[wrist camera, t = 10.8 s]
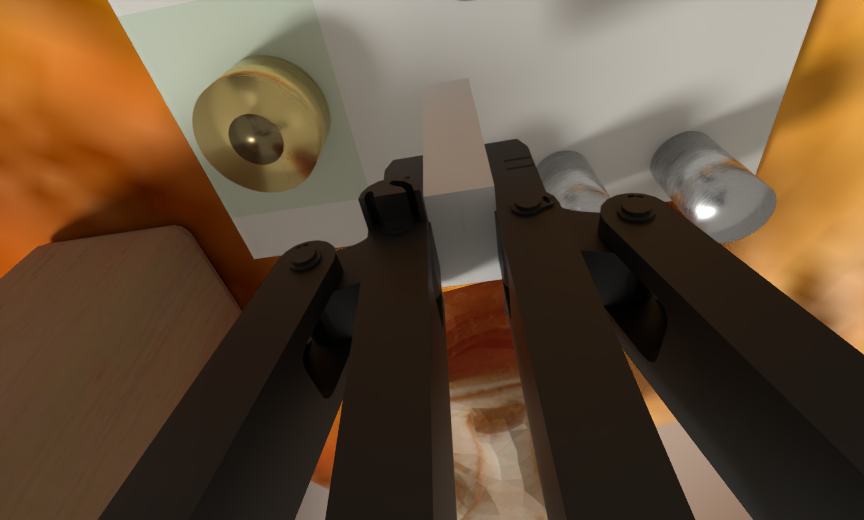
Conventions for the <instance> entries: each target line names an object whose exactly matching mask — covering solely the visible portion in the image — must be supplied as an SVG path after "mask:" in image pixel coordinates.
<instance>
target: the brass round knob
mask: <svg viewBox="0 0 864 520" xmlns="http://www.w3.org/2000/svg"><path fill="white" fill-rule="evenodd" d="M330 124H331V117H330V110H329V106H328V103H327V100H326V98H325V96H324V94H323V92H322V90H321V89H320V87H319V86H318V84H317V83H316V82H315V81H314V79H313V78H312V77H311V76H310V75H309V74H308V73H307V72H305V71H304V70H303V69H301V68H300V67H299V66H297V65H295V64H293V63H292V62H289V61H287V60H285V59H282V58H278V57H274V56H268V55H259V56H252V57H248V58H245V59H243V60H241V61H239V62H238V63H236V64H235V65H233V66H232V67H231V68H230V69H229V70H227V71H226V72H225V73H224V74H223V75H222V76H220V77H219V78H218V79H217V80H216V81H214V82H213V83H212V84H211V85H210V86H208V87H207V88H206V89H205V90H204V91H203V92H202V93H201V95H200V96H199V97H198V99H197V101H196V103H195V106H194V110H193V115H192V126H193V132H194V136H195V139H196V142H197V144H198V146H199V148H200V150H201V152H202V153H203V155H204V157H205V158H206V159H207V160H208V162H209V163H210V164H211V165H212V166H213V167H214V168H215V169H216V170H217V171H218V172H219V173H220V174H222V175H223V176H224V177H226V178H227V179H229V180H230V181H232V182H234V183H235V184H238V185H240V186H242V187H244V188H247V189H250V190H254V191H258V192H266V193H275V192H283V191H287V190H290V189H293V188H295V187H297V186H298V185H300V184H301V183H303V182H304V181H305V180H306V179H307V178H308V177H309V176H310V174H311V173H312V171H313V169H314V167H315V165H316V163H317V160H318V158H319V156H320V153H321V151H322V149H323V146H324V144H325V142H326V139H327V137H328V134H329V131H330Z"/></svg>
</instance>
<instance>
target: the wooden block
mask: <svg viewBox="0 0 864 520" xmlns="http://www.w3.org/2000/svg"><path fill="white" fill-rule="evenodd" d="M241 313H242V310H241V309H240V307H239V306H238V304H237V303H236V301H235V299H234V298H233V296H232V295H231V293H230V292H229V290H228V289H227V287H226V286H225V284H224V283H223V281H222V280H221V278H220V276H219V275H218V273H217V272H216V270H215V269H214V267H213V266H212V264H211V263H210V261H209V260H208V258H207V257H206V255H205V253H204V252H203V250H202V249H201V247H200V246H199V244H198V243H197V241H196V240H195V238H194V237H193V235H192V234H191V232H189V231H188V230H187V229H185V228H184V227H182V226H177V225H170V226H163V227H156V228H149V229H142V230H136V231H129V232H122V233H115V234H109V235H102V236H95V237H88V238H82V239H75V240H68V241H61V242H55V243H49V244H45V245H42V246H39V247H37V248H35V249H34V250H33V251H32V252H30V253H29V254H28V255H27V256H26V257H25V258H24V259H22V260H21V261H20V262H19V263H18V264H17V265H16V266H14V267H13V268H12V269H11V270H10V271H9V272H8V273H7V274H5V275H4V276H3V277H2V278H1V279H0V520H98V518H99V517H100V515H101V514H102V513H103V511H104V510H105V508H106V507H107V505H108V504H109V502H110V501H111V500H112V498H113V497H114V495H115V494H116V492H117V491H118V489H119V488H120V487H121V485H122V484H123V482H124V481H125V479H126V478H127V477H128V475H129V474H130V472H131V471H132V469H133V468H134V466H135V465H136V464H137V462H138V461H139V459H140V458H141V456H142V455H143V454H144V452H145V451H146V449H147V448H148V446H149V445H150V443H151V442H152V441H153V439H154V438H155V436H156V435H157V433H158V432H159V430H160V429H161V428H162V426H163V425H164V423H165V422H166V420H167V419H168V418H169V416H170V415H171V413H172V412H173V410H174V409H175V407H176V406H177V405H178V403H179V402H180V400H181V399H182V397H183V396H184V395H185V393H186V392H187V390H188V389H189V387H190V386H191V384H192V383H193V382H194V380H195V379H196V377H197V376H198V374H199V373H200V372H201V370H202V369H203V367H204V366H205V364H206V363H207V361H208V360H209V359H210V357H211V356H212V354H213V353H214V351H215V350H216V348H217V347H218V346H219V344H220V343H221V341H222V340H223V338H224V337H225V336H226V334H227V333H228V331H229V330H230V328H231V327H232V325H233V324H234V323H235V321H236V320H237V318H238V317H239V315H240V314H241Z"/></svg>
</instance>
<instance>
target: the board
mask: <svg viewBox="0 0 864 520" xmlns="http://www.w3.org/2000/svg"><path fill="white" fill-rule="evenodd" d="M108 1H109V3H110V5H111V7H112V8H113V10H114V12H115V14H116V16H117V17H118V19H119V21H120V23H121V24H122V26H123V28H124V30H125V31H126V33H127V35H128V37H129V39H130V40H131V42H132V44H133V46H134V47H135V49H136V51H137V53H138V54H139V56H140V58H141V60H142V62H143V63H144V65H145V67H146V69H147V70H148V72H149V74H150V76H151V77H152V79H153V81H154V83H155V85H156V86H157V88H158V90H159V92H160V93H161V95H162V97H163V99H164V100H165V102H166V104H167V106H168V108H169V109H170V111H171V113H172V115H173V116H174V118H175V120H176V122H177V123H178V125H179V127H180V129H181V131H182V132H183V134H184V136H185V138H186V139H187V141H188V143H189V145H190V146H191V148H192V150H193V152H194V154H195V155H196V157H197V159H198V161H199V162H200V164H201V166H202V168H203V169H204V171H205V173H206V175H207V177H208V178H209V180H210V182H211V184H212V185H213V187H214V189H215V191H216V192H217V194H218V196H219V198H220V200H221V201H222V203H223V205H224V207H225V208H226V210H227V212H228V214H229V215H230V217H231V219H232V221H233V223H234V224H235V226H236V228H237V230H238V231H239V233H240V235H241V237H242V238H243V240H244V242H245V244H246V246H247V247H248V249H249V251H250V253H251V254H252V256H253V258H254V259H259V258H266V257H273V256H280V255H283V254H284V253H285V252H286V251H288V250H289V249H291V248H292V247H294V246H296V245H298V244H301V243H304V242H307V241H315V240H320V241H326V242H328V243H330V244H331V245H333V246H334V248H338V247H345V246H352V245H355V244H357V243H359V242H361V241H363V240H364V239H366V238H367V235H368V228H367V225H366V222H365V219H364V216H363V213H362V210H361V207H360V204H359V201H358V198H359V196H360V194H361V192H363V191H364V190H365V189H366V188H367V187H368V186H370V185H372V184H374V183H376V182H378V181H381V180H384V173H385V169H386V168H387V167H388V166H389V164H390V163H391V162H392V161H393V160H396V159H402V158H408V157H415V156H421V155H423V86H426V85H432V84H437V83H443V82H449V81H454V80H460V79H466V78H468V79H469V83H470V87H471V91H472V96H473V100H474V104H475V108H476V112H477V116H478V120H479V125H480V129H481V133H482V137H483V141H484V144H487V143H493V142H499V141H506V140H512V139H518V140H519V141H521V142H522V143H524V144H525V145H527V146H528V148H529V150H530V153H531V155H532V158H533V160H534V163H535V166H537V165H538V164H539V163H540V162H541V161H542V160H543V159H544V158H545V157H547V156H548V155H550V154H552V153H555V152H558V151H564V150H570V151H575V152H578V153H580V154H581V155H583V156H584V157H585V158H586V159H587V161H588V162H589V164H590V165H591V167H592V169H593V170H594V172H595V173H596V175H597V177H598V178H599V180H600V182H601V183H602V185H603V186H604V188H605V190H606V191H607V193H608V194H609V196H610V198H611V197H613V196H615V195H620V194H626V193H642V194H646V195H650V196H654V197H657V198H659V199H660V200H662V201H664V202H668V201H672V200H671V199H670V198H669V196H668V195H667V194H666V193H665V192H664V190H663V189H662V188H661V187H660V185H659V184H658V183H657V182H656V181H655V179H654V178H653V177H652V174H651V171H650V164H651V160H652V158H653V156H654V154H655V152H656V151H657V149H658V148H659V147H660V146H661V145H662V144H663V143H664V142H665V141H667V140H668V139H669V138H671V137H673V136H675V135H677V134H679V133H682V132H687V131H699V132H702V133H704V134H706V135H707V136H709V137H710V138H711V139H712V140H714V141H715V142H716V143H717V144H718V145H720V146H721V147H722V148H723V149H724V150H726V151H727V152H728V153H729V154H730V155H732V156H733V157H734V158H735V159H736V160H738V161H739V162H740V163H741V164H742V165H744V166H745V167H746V168H747V169H748V170H750V171H751V172H752V173H753V174H754V175H755V174H756V172H757V169H758V166H759V163H760V160H761V158H762V155H763V152H764V149H765V146H766V144H767V141H768V138H769V135H770V132H771V130H772V127H773V124H774V121H775V118H776V116H777V113H778V110H779V107H780V104H781V102H782V99H783V96H784V93H785V90H786V88H787V85H788V82H789V79H790V76H791V74H792V71H793V68H794V65H795V62H796V60H797V57H798V54H799V51H800V48H801V46H802V43H803V40H804V37H805V34H806V32H807V29H808V26H809V23H810V20H811V18H812V15H813V12H814V9H815V6H816V4H817V1H818V0H472V1H458V0H108ZM259 55H268V56H274V57H278V58H282V59H285V60H287V61H289V62H292V63H293V64H295V65H297V66H299V67H300V68H301V69H303V70H304V71H305V72H307V73H308V74H309V75H310V76H311V77H312V78H313V79H314V81H315V82H316V83H317V84H318V86H319V87H320V89H321V90H322V92H323V94H324V96H325V98H326V100H327V103H328V106H329V110H330V117H331V124H330V131H329V134H328V137H327V139H326V142H325V144H324V146H323V149H322V151H321V153H320V156H319V158H318V160H317V163H316V165H315V167H314V169H313V171H312V173H311V174H310V176H309V177H308V178H307V179H306V180H305V181H304V182H303V183H301V184H300V185H298V186H297V187H295V188H293V189H290V190H287V191H283V192H275V193H266V192H258V191H254V190H250V189H247V188H244V187H242V186H240V185H238V184H235V183H234V182H232V181H230V180H229V179H227V178H226V177H224V176H223V175H222V174H220V173H219V172H218V171H217V170H216V169H215V168H214V167H213V166H212V165H211V164H210V163H209V162H208V160H207V159H206V158H205V157H204V155H203V153H202V152H201V150H200V148H199V146H198V144H197V142H196V139H195V136H194V132H193V126H192V115H193V110H194V106H195V103H196V101H197V99H198V97H199V96H200V95H201V93H202V92H203V91H204V90H205V89H206V88H207V87H208V86H210V85H211V84H212V83H213V82H214V81H216V80H217V79H218V78H219V77H220V76H222V75H223V74H224V73H225V72H226V71H227V70H229V69H230V68H231V67H232V66H233V65H235V64H236V63H238V62H239V61H241V60H243V59H245V58H248V57H252V56H259Z"/></svg>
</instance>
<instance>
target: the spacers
mask: <svg viewBox="0 0 864 520" xmlns="http://www.w3.org/2000/svg"><path fill="white" fill-rule="evenodd" d="M458 1H472V0H458ZM536 168H537V170H538V173H539V175H540V178H541V180H542V182H543V185H544V187H545V190H546V192H548V193H550V194H552V195H554V196H555V197H556V199H557V200H558V201H559V202H560V205H561V207H563V208H566V209H569V210H574V211H582V212H599V213H600V209H601V205H602V204H603V203H604V202H605V201H606V200H607V199H609V198H610V196H609V194H608V193H607V191H606V190H605V188H604V186H603V185H602V183H601V182H600V180H599V178H598V177H597V175H596V173H595V172H594V170H593V169H592V167H591V165H590V164H589V162H588V161H587V159H586V158H585V157H584V156H583V155H581V154H580V153H578V152H575V151H570V150H564V151H558V152H555V153H552V154H550V155H548V156H547V157H545V158H544V159H543V160H542V161H541V162H540V163H539V164H538V165H537V166H536ZM650 171H651V174H652V177H653V178H654V179H655V181H656V182H657V183H658V184H659V185H660V187H661V188H662V189H663V190H664V192H665V193H666V194H667V195H668V196H669V198H670V199H671V200H672V201H673V203H674V204H675V205H676V206H677V207H678V209H679V210H680V211H681V212H682V213H683V215H684V216H685V217H686V218H687V219H688V220H689V221H691V222H692V223H693V224H695V225H696V226H697V227H699V228H700V229H701V230H702V231H704V232H705V233H706V234H708V235H709V236H710V237H712V238H713V239H714V240H715V241H717V242H718V243H728V242H733V241H736V240H739V239H742V238H744V237H746V236H748V235H750V234H752V233H753V232H755V231H756V230H758V229H759V228H760V227H761V226H763V225H764V224H765V223H766V222H767V220H768V219H769V218H770V216H771V215H772V213H773V211H774V209H775V206H776V195H775V193H774V191H773V190H772V189H771V188H770V187H769V186H768V185H766V184H765V183H764V182H763V181H762V180H760V179H759V178H758V177H757V176H756V175H754V174H753V173H752V172H751V171H750V170H748V169H747V168H746V167H745V166H744V165H742V164H741V163H740V162H739V161H738V160H736V159H735V158H734V157H733V156H732V155H730V154H729V153H728V152H727V151H726V150H724V149H723V148H722V147H721V146H720V145H718V144H717V143H716V142H715V141H714V140H712V139H711V138H710V137H709V136H707V135H706V134H704V133H702V132H699V131H687V132H682V133H679V134H677V135H675V136H673V137H671V138H669V139H668V140H667V141H665V142H664V143H663V144H662V145H661V146H660V147H659V148H658V149H657V151H656V152H655V154H654V156H653V158H652V160H651V164H650Z"/></svg>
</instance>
